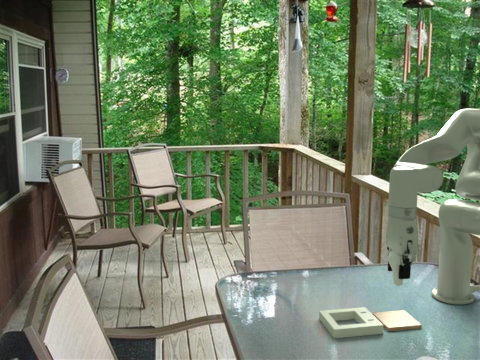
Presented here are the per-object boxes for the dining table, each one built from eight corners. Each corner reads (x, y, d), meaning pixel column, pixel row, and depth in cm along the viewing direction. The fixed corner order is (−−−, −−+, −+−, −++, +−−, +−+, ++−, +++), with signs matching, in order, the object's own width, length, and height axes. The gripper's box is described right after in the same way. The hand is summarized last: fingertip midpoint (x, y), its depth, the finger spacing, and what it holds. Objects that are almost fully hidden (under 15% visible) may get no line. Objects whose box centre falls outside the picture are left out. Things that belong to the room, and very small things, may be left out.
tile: (403, 313, 154) (404, 309, 154) (421, 328, 145) (421, 324, 144) (372, 315, 152) (372, 312, 152) (388, 331, 143) (388, 327, 143)
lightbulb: (413, 285, 147) (415, 248, 145) (403, 291, 142) (405, 252, 140) (393, 280, 151) (394, 243, 149) (382, 286, 146) (384, 248, 145)
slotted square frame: (364, 315, 153) (364, 306, 153) (382, 333, 141) (383, 324, 141) (319, 319, 150) (319, 310, 150) (334, 338, 139) (334, 329, 138)
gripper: (431, 218, 135) (427, 284, 138) (399, 204, 152) (396, 263, 155) (404, 220, 134) (401, 286, 137) (375, 205, 150) (372, 265, 154)
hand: (398, 274), depth 146 cm, fingers closed on lightbulb, 5 cm apart
